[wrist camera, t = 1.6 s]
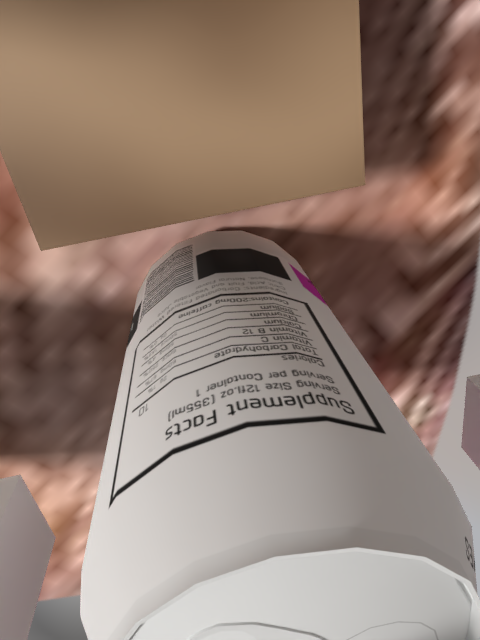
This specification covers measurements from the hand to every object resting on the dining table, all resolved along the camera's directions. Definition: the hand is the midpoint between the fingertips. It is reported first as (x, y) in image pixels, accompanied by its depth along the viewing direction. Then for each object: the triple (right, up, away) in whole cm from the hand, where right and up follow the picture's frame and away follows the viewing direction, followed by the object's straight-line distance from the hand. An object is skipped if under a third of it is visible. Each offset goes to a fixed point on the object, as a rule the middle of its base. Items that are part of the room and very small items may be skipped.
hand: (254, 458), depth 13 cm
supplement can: (-1, +5, +8) cm, 10 cm away
